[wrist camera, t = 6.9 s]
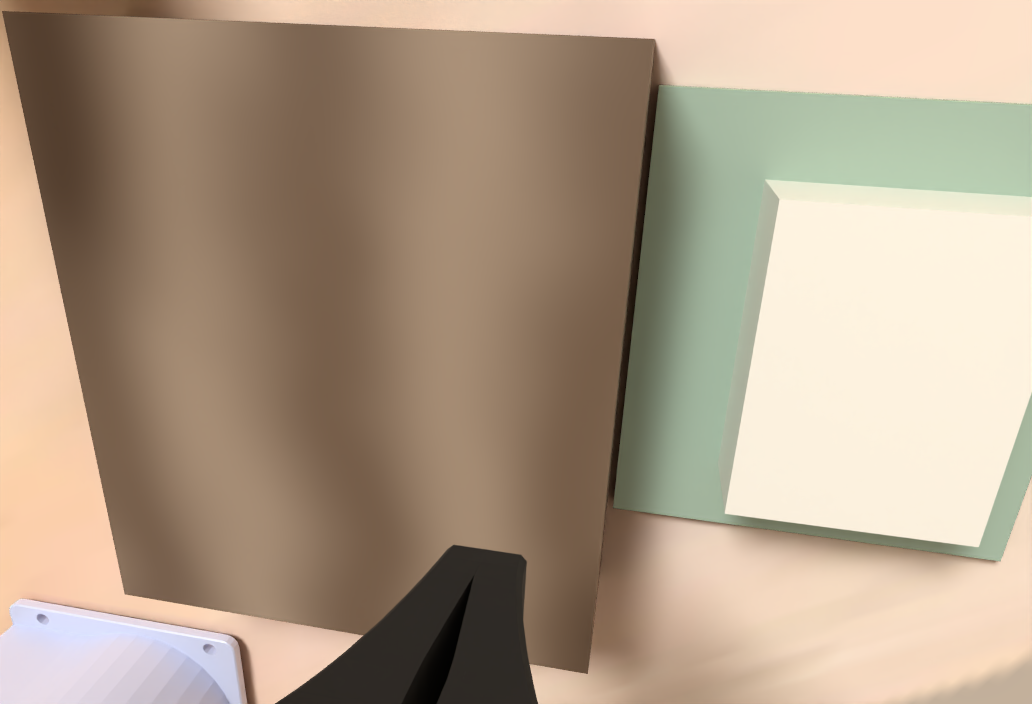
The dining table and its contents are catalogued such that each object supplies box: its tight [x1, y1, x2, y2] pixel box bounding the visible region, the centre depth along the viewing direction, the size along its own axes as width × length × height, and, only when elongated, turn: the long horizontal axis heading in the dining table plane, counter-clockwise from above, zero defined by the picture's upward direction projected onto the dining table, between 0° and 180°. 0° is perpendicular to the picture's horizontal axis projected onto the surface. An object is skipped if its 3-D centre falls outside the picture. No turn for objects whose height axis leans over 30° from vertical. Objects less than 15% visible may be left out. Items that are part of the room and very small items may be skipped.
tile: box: [718, 180, 1032, 547], centre depth 18 cm, size 6×8×2 cm
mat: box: [613, 85, 1032, 561], centre depth 19 cm, size 11×12×1 cm
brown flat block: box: [2, 11, 655, 674], centre depth 20 cm, size 14×16×4 cm
